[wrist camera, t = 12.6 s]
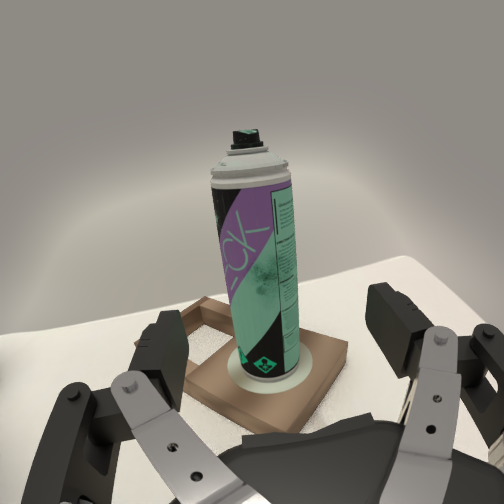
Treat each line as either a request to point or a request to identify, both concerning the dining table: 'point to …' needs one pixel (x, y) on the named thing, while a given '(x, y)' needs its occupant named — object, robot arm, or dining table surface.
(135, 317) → the dining table surface
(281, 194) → the spray can
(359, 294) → the dining table surface
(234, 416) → the walnut tray
